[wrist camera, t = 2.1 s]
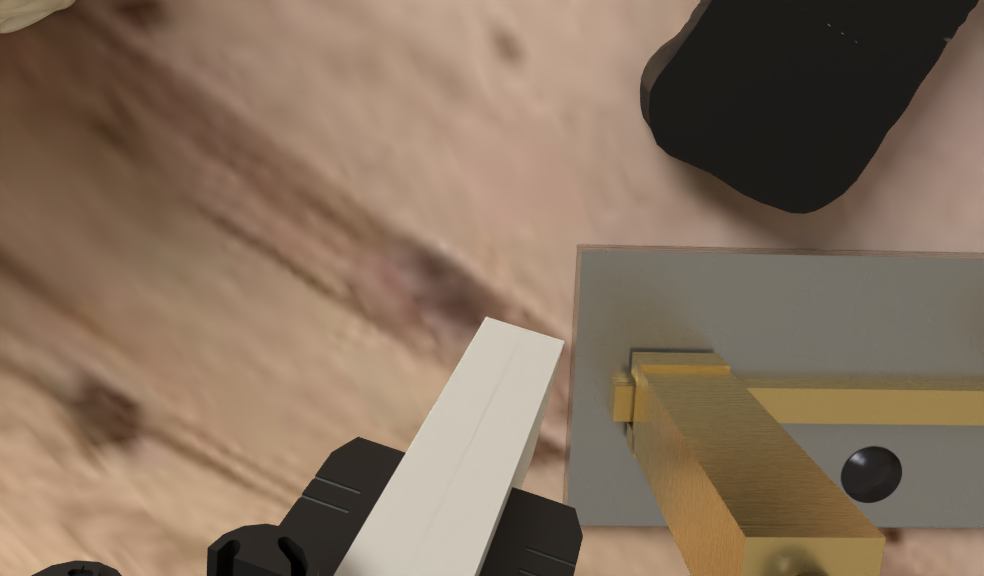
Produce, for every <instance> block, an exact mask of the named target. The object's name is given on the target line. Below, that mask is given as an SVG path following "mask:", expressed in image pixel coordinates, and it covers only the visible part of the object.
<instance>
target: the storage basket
mask: <svg viewBox="0 0 984 576" xmlns="http://www.w3.org/2000/svg"><path fill="white" fill-rule="evenodd" d="M75 1H76V0H0V33H10V32H15V31H17V30H20V29H22V28H25V27H27V26H29V25H31V24H33V23H36V22H38V21H39V20H41V19H43V18H44V17H46V16H48V15H50V14H51V13H53V12H55V11H58V10H61V9H66V8H67V7H69V6H71V5H72V4H73V3H74V2H75Z"/></svg>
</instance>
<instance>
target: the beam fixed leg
mask: <svg viewBox="0 0 984 576" xmlns="http://www.w3.org/2000/svg"><path fill="white" fill-rule="evenodd" d="M738 380H739V381H740V382H741V383H742V384H743V385H744V386H745V387H746V389H747V390H748V391H749V392H750V393H751V394H752V395H753V396H754V397H755V398H756V399H757V400H758V401H759V402H760V404H761V405H762V406H763V407H764V408H765V409H766V410H767V411H768V412H769V413H770V414H771V415H772V416H773V417H774V419H775V420H776V421H777V422H778V423H805V424H896V425H984V382H914V381H840V380H766V379H738ZM635 393H636V381H635V379H634V378H619V377H611V384H610V399H609V414H610V416H611V418H612V420H613V421H624V422H633V419H634V406H635Z"/></svg>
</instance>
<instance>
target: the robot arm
mask: <svg viewBox="0 0 984 576" xmlns="http://www.w3.org/2000/svg"><path fill="white" fill-rule="evenodd" d="M564 342H565V341H563V340H560V339H556V338H553V337H550V336H547V335H543V334H540V333H537V332H534V331H530V330H527V329H524V328H521V327H518V326H514V325H511V324H508V323H505V322H501V321H498V320H495V319H492V318H488V317H486V318H485V319H484V321H483V323H482V324H481V326H480V328H479V330H478V331H477V333H476V335H475V336H474V338H473V340H472V341H471V343H470V345H469V347H468V348H467V350H466V352H465V353H464V355H463V357H462V358H461V360H460V362H459V364H458V365H457V367H456V369H455V370H454V372H453V374H452V375H451V377H450V379H449V381H448V382H447V384H446V386H445V387H444V389H443V391H442V392H441V394H440V396H439V397H438V399H437V401H436V403H435V404H434V406H433V408H432V409H431V411H430V413H429V414H428V416H427V418H426V420H425V421H424V423H423V425H422V426H421V428H420V430H419V431H418V433H417V435H416V437H415V438H414V440H413V442H412V443H411V445H410V447H409V448H408V450H407V452H406V453H405V452H402V451H399V450H396V449H393V448H390V447H387V446H384V445H381V444H378V443H375V442H372V441H369V440H366V439H363V438H360V437H357V438H355V439H354V440H352V441H350V442H348V443H347V444H345V445H343V446H342V447H340V448H338V449H337V450H335V451H333V452H332V453H331V454H330V456H329V457H328V458H327V460H326V461H325V462H324V464H323V465H322V467H321V468H320V469H319V471H318V472H317V474H316V475H315V478H314V480H313V479H312V481H311V482H310V483H309V485H308V486H307V487H306V489H305V490H304V492H303V493H302V496H301V498H299V499H298V500H297V501H296V503H295V504H294V506H293V507H292V508H291V510H290V511H289V512H288V514H287V515H286V517H285V518H284V519H283V521H282V522H281V524H280V525H279V526H275V525H270V524H259V525H249V526H243V527H240V528H238V529H235V530H233V531H230V532H228V533H226V534H223V535H222V536H221V537H220V538H219V539H218V540H216V541H215V542H214V543H213V544H212V545H211V546H209V547H208V555H207V576H573V575H574V571H575V566H576V563H577V559H578V555H579V550H580V546H581V542H582V538H583V535H582V531H581V528H580V524H579V520H578V516H577V513H576V509H575V508H573V507H570V506H567V505H564V504H561V503H558V502H555V501H553V500H550V499H547V498H544V497H541V496H538V495H535V494H532V493H529V492H526V491H523V490H521V487H522V484H523V482H524V479H525V476H526V473H527V471H528V468H529V465H530V462H531V460H532V457H533V453H534V450H535V446H536V442H537V439H538V435H539V432H540V428H541V425H542V421H543V417H544V414H545V410H546V407H547V403H548V399H549V396H550V392H551V389H552V385H553V381H554V378H555V374H556V371H557V367H558V364H559V360H560V356H561V353H562V349H563V346H564ZM32 576H122V575H121V574H120V573H119V572H118V571H117V570H116V569H114V568H111V567H109V566H107V565H104V564H102V563H100V562H91V561H71V562H66V563H62V564H57V565H52V566H50V567H48V568H46V569H44V570H42V571H40V572H38V573H36V574H34V575H32Z"/></svg>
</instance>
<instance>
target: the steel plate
mask: <svg viewBox="0 0 984 576" xmlns="http://www.w3.org/2000/svg"><path fill="white" fill-rule="evenodd" d="M633 352H659V353H719V354H720V355H721V356H722V357H723V359H724V360H725V361H726V362H727V363H728V364H729V365H730V371H731V372H732V373H733V375H734V376H735V377H736V378H737V379H766V380H840V381H914V382H984V253H949V252H901V251H854V250H806V249H759V248H711V247H664V246H616V245H577V260H576V278H575V296H574V314H573V332H572V350H571V368H570V386H569V404H568V422H567V440H566V457H565V475H564V493H563V504H564V505H567V506H570V507H573V508H575V509H576V513H577V516H578V520H579V524H580V526H668V525H667V522H666V520H665V518H664V516H663V514H662V512H661V510H660V508H659V505H658V503H657V501H656V499H655V497H654V495H653V493H652V491H651V488H650V486H649V484H648V482H647V480H646V478H645V476H644V474H643V471H642V469H641V467H640V465H639V463H638V461H637V459H636V458H633V456H632V454H631V451H630V449H629V447H628V445H627V443H626V436H627V422H624V421H613V420H612V418H611V416H610V414H609V399H610V384H611V377H619V378H634V377H633V376H632V374H631V369H632V355H633ZM779 424H780V425H781V426H782V427H783V428H784V429H785V430H786V431H787V432H788V434H789V435H790V436H791V437H792V438H793V439H794V440H795V441H796V442H797V443H798V444H799V445H800V446H801V448H802V449H803V450H804V451H805V452H806V453H807V454H808V455H809V456H810V457H811V458H812V459H813V460H814V461H815V463H816V464H817V465H818V466H819V467H820V468H821V469H822V470H823V471H824V472H825V473H826V474H827V475H828V476H829V478H830V479H831V480H832V481H833V482H834V483H835V484H836V485H837V486H838V487H839V488H840V489H841V490H842V491H843V493H844V494H845V495H846V496H847V497H848V498H849V499H850V500H851V501H852V502H853V503H854V504H855V505H856V507H857V508H858V509H859V510H860V511H861V512H862V513H863V514H864V515H865V516H866V517H867V518H868V519H869V520H870V522H871V523H872V524H873V525H874V526H875V527H915V528H984V425H896V424H805V423H779Z"/></svg>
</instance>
